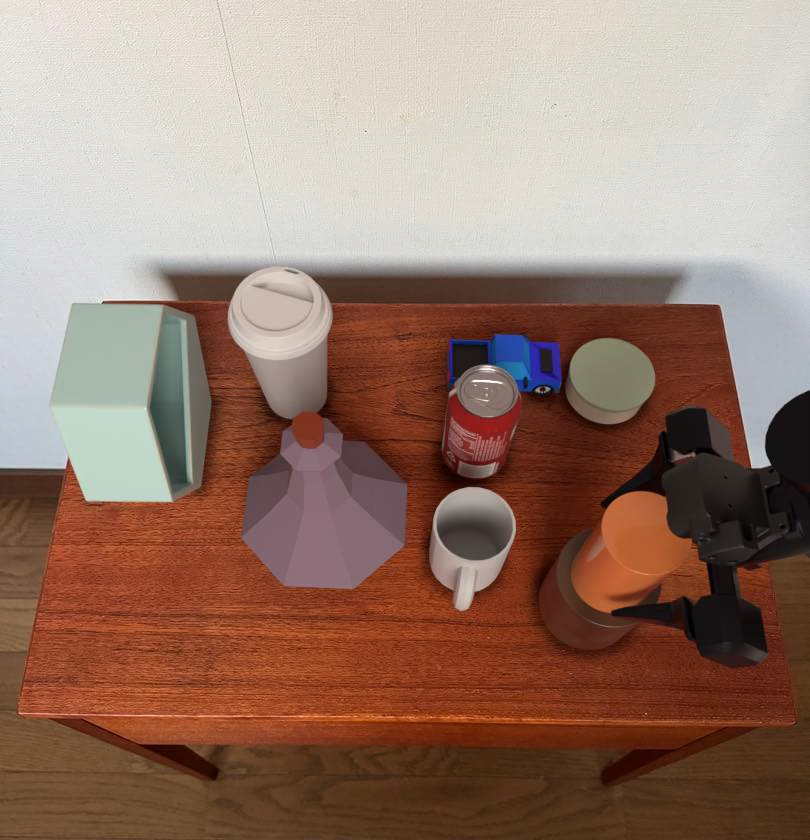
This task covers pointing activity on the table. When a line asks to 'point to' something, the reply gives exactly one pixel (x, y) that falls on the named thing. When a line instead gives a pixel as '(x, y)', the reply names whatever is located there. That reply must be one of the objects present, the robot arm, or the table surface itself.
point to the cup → (470, 541)
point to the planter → (132, 402)
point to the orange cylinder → (627, 553)
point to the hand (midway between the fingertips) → (608, 558)
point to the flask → (324, 508)
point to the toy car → (509, 361)
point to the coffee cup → (284, 337)
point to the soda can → (480, 421)
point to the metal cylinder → (579, 606)
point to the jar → (609, 380)
